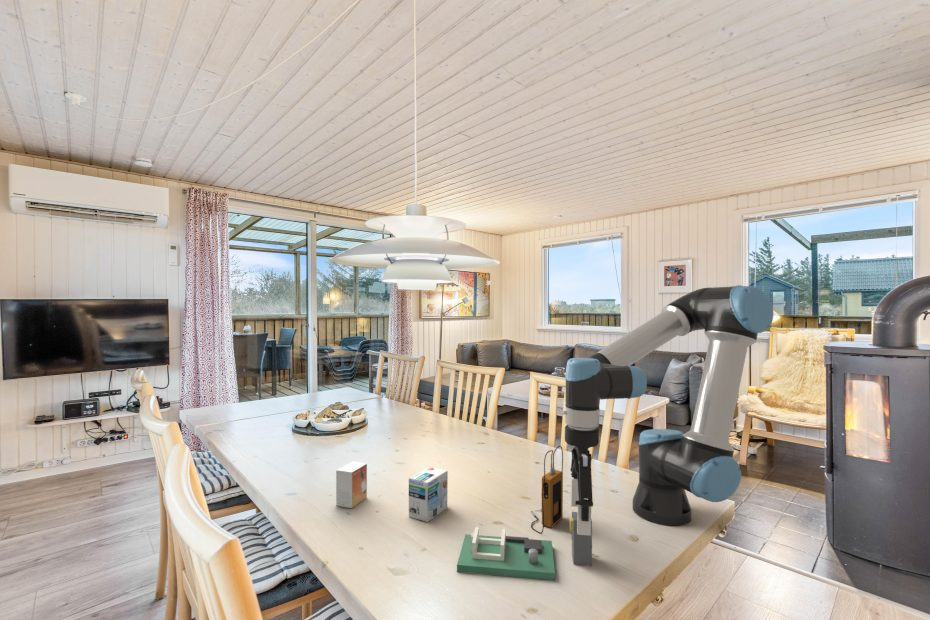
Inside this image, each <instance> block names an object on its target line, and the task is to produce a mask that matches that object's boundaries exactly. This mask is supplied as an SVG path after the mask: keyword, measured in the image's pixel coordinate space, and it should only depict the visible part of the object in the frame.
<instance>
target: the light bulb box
mask: <svg viewBox="0 0 930 620" xmlns="http://www.w3.org/2000/svg"><path fill="white" fill-rule="evenodd" d="M448 473H449V472H448V470H445V469H441V468H436V467H434V466H433V467H432V466H428V467H425V469H422V470H421V471H419V472H417V473H416V474H414V475H412V476H411V477H408V517H409V518H413V519H415V520H419V521H423V522H426V523H428V522H430V521H432V520H433V519H434V518H435V517H436V516H439V514H441V513H442V512H444V511H445V510H446V509H448V486H449V485H448V480H449V479H448V477H449V475H448Z"/></svg>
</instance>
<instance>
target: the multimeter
mask: <svg viewBox="0 0 930 620" xmlns="http://www.w3.org/2000/svg"><path fill="white" fill-rule="evenodd" d="M558 448H560V449H561V470H558V469H555V457H554V456H555V453H556V451H557V450H558ZM550 452H551V454H550V455H551V456H550V458H551V459H550V470H549V472H548V473H546V457H547V455H548V454H549V453H550ZM563 452H564V451H563V447H562V446H561V445H557V447H556V448H555V449H554V450H553V449H552V450H547V452H546V453H545V455H544V461H543V474H544V475H543V476H542V477H541V508H540V509H536V510H534V511H535V512H538V511H540V512H541V525H542V530H541V532H540V531H538V530H536V529H534V527H533V524H534V523H535V522H537V521H538V520H539V518H538V516H536V514H535V513H534V511H533V510H532V509H529V510H530V513H531V514H532V516H533V517H534V518H535V519H536V520H534V521H532V522H531V523H530V528H531V529H532V530H533V531H535V532H536V533H538V534H543V532H544V528H545V527H548V528H550V529H552V528H553V527H554V526H555V525H556V524H557V523H558V522H560V521H561V520H562V519H563V517H564V515H563V514H564V513H563V511H564V506H563V503H564V500H563V498H564V495H563V494H564V492H563V491H564V490H563V489H564V485H563V484H564V482H563V481H564V472H563V469H564V467H563V465H564V453H563Z"/></svg>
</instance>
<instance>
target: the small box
mask: <svg viewBox="0 0 930 620" xmlns="http://www.w3.org/2000/svg"><path fill="white" fill-rule="evenodd" d="M367 470H368V464H367V463H364V462H358V461H350V462H349V463H347V464H346V465H344V466H342V467H340V468H337V469H336V470H335V471H336V473H335V475H336V476H335V477H336V478H335V479H336V480H335V482H336V483H335V487H336V488H335V492H336V493H335V494H336V495H335V497H336V498H335V502H336V504H335V505H336V506H337V507H342V508H348V509H353V508H354V507H356V506H357V505H359V504H360V503H362V502H363V501H364V500H365V499H367V497H368V494H367V493H368V492H367V490H368V478H367V477H368V471H367Z"/></svg>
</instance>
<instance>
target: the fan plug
mask: <svg viewBox="0 0 930 620" xmlns="http://www.w3.org/2000/svg"><path fill="white" fill-rule="evenodd" d="M577 515H578V511H572V512H571V516H570V517H569V531H570V532H571V557H572V563H573V565H574V566H575V565H577V566H588V567H592V566H593V520H592V518H591V536H589V535H578V534H577Z"/></svg>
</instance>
